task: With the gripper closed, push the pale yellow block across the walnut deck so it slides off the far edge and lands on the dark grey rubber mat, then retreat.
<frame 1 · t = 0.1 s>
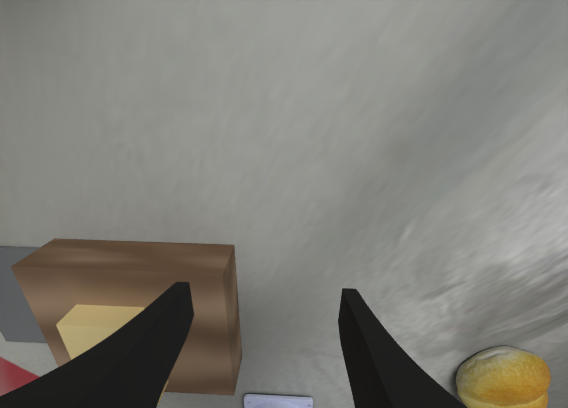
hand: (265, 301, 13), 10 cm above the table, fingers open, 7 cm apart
mat: (28, 297, 27), on the table
pale yellow block: (125, 345, 23), point 4 cm above the table, touching deck
bread roll: (492, 370, 29), on the table
deck: (157, 303, 26), on the table
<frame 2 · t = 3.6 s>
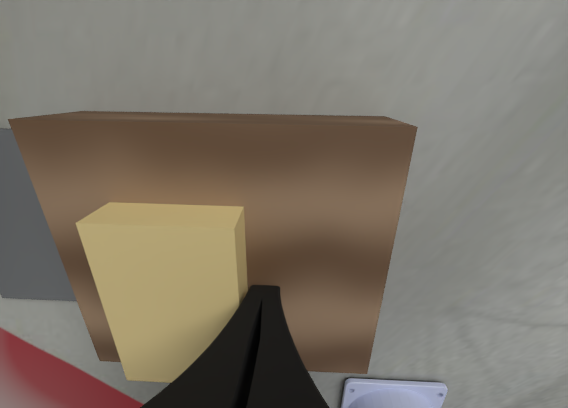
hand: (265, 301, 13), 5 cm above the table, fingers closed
mat: (37, 224, 17), on the table
pale yellow block: (188, 285, 14), point 4 cm above the table
deck: (238, 231, 17), on the table
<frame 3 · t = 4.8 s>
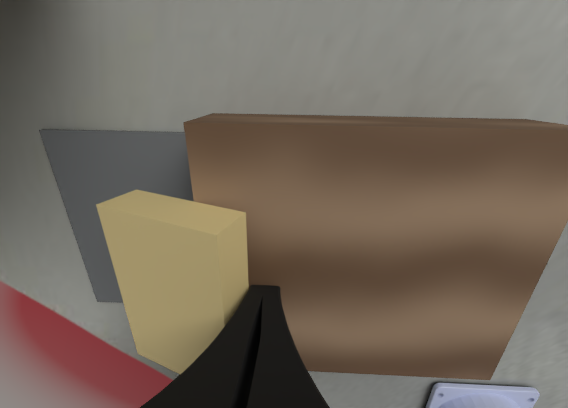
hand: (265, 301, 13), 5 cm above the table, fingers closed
mat: (144, 227, 17), on the table
pale yellow block: (197, 281, 14), point 4 cm above the table, tilted 20°, touching deck
deck: (351, 234, 17), on the table
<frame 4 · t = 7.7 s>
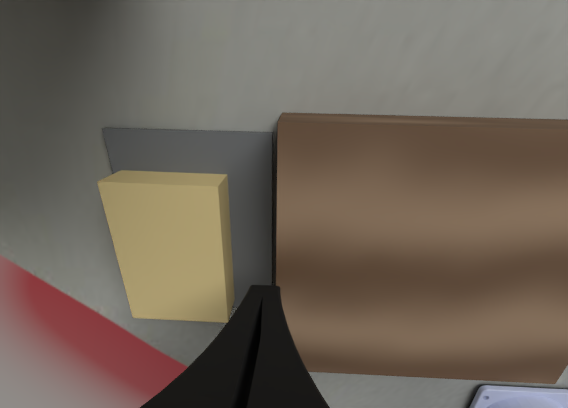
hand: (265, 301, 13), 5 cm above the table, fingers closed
mat: (200, 228, 17), on the table
pale yellow block: (170, 260, 15), point 2 cm above the table, tilted 180°, touching mat
deck: (411, 236, 16), on the table
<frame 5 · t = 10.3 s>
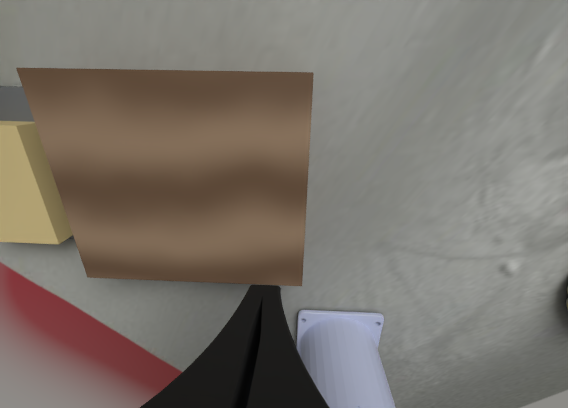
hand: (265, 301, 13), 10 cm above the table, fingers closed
mat: (37, 169, 21), on the table
deck: (200, 174, 21), on the table
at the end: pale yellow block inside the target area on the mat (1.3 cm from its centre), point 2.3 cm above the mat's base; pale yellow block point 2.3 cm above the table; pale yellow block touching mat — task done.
